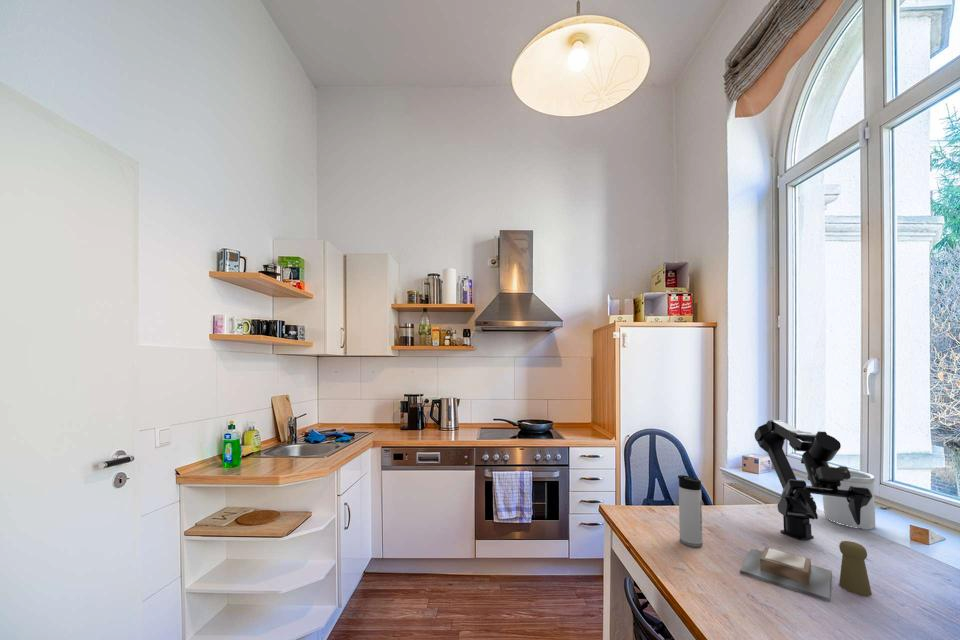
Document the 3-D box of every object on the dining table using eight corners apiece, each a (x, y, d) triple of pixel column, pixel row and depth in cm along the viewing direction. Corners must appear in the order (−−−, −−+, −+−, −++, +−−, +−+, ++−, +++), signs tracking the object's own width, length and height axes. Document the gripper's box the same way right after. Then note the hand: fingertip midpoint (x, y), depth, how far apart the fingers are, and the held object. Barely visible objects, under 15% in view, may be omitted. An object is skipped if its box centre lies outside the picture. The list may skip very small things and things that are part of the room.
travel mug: (674, 538, 128) (673, 473, 130) (694, 538, 129) (693, 473, 131) (686, 547, 122) (684, 479, 124) (707, 547, 122) (705, 479, 124)
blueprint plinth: (740, 573, 108) (739, 557, 108) (751, 551, 121) (751, 537, 121) (829, 601, 96) (828, 583, 96) (831, 573, 109) (830, 557, 110)
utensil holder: (866, 533, 137) (863, 479, 139) (814, 517, 150) (811, 468, 152) (885, 526, 144) (882, 475, 145) (833, 511, 157) (831, 465, 159)
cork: (878, 597, 98) (875, 549, 99) (849, 593, 100) (846, 546, 101) (860, 584, 104) (858, 539, 105) (833, 580, 105) (831, 536, 106)
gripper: (786, 450, 120) (802, 501, 109) (866, 458, 114) (892, 512, 102) (779, 471, 127) (793, 521, 116) (854, 479, 120) (877, 532, 109)
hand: (837, 521), depth 111 cm, fingers open, 9 cm apart
